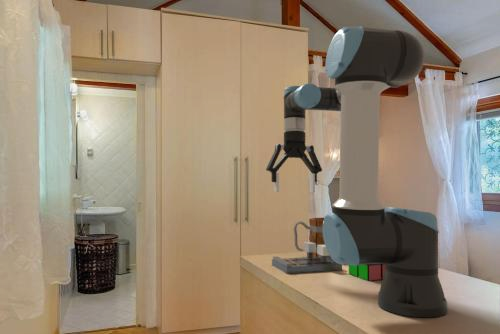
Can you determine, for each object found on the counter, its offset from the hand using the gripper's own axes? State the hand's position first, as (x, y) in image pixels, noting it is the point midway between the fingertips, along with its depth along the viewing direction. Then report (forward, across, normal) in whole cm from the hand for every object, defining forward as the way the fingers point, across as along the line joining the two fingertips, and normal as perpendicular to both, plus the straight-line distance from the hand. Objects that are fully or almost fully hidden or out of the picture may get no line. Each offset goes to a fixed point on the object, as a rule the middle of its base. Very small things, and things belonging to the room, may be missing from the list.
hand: (294, 192), depth 138 cm
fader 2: (+24, -9, +5) cm, 26 cm away
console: (+26, -4, +1) cm, 26 cm away
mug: (+26, -17, -15) cm, 35 cm away
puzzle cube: (+26, -18, +18) cm, 37 cm away
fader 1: (+24, -7, -2) cm, 25 cm away
